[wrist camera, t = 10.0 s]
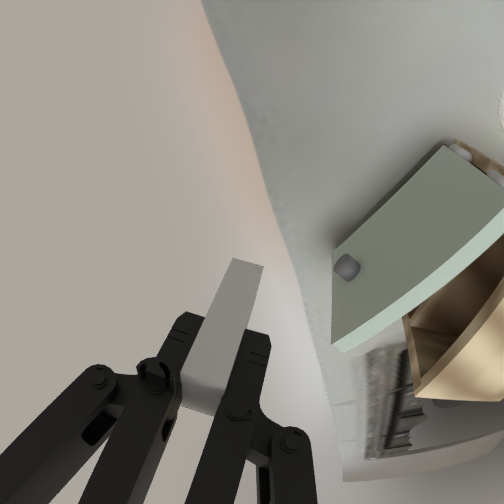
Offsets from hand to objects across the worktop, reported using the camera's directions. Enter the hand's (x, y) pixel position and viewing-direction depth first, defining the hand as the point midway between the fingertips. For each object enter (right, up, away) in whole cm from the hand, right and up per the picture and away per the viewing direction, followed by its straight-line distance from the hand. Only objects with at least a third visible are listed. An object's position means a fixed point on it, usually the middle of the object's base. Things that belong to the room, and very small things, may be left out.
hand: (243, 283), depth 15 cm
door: (+15, +7, +13) cm, 21 cm away
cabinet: (+26, +4, +14) cm, 30 cm away
